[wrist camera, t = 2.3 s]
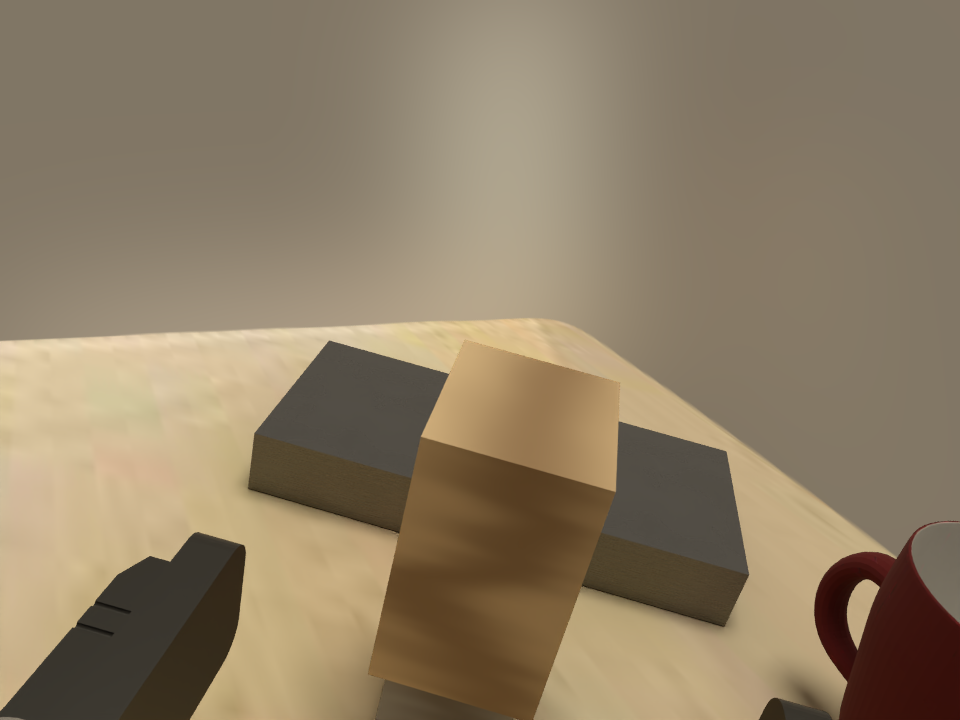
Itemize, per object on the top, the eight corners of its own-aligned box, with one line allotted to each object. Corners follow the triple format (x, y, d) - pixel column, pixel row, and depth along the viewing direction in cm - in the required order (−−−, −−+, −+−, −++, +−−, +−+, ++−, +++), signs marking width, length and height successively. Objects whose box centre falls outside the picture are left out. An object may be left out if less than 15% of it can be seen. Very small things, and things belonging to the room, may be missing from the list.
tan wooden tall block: (345, 772, 27) (420, 436, 21) (394, 637, 32) (464, 339, 26) (496, 818, 27) (615, 491, 21) (520, 674, 32) (619, 382, 26)
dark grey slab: (248, 488, 38) (254, 433, 37) (322, 387, 47) (329, 340, 45) (724, 626, 37) (749, 575, 35) (707, 496, 46) (726, 451, 44)
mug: (698, 697, 33) (796, 494, 28) (828, 647, 37) (932, 463, 33) (932, 972, 25) (1118, 756, 21) (1063, 870, 29) (1241, 672, 25)
